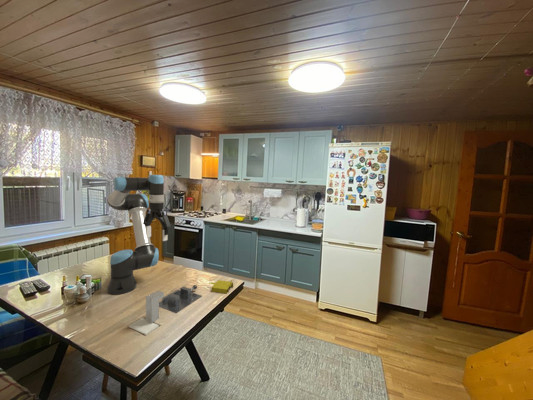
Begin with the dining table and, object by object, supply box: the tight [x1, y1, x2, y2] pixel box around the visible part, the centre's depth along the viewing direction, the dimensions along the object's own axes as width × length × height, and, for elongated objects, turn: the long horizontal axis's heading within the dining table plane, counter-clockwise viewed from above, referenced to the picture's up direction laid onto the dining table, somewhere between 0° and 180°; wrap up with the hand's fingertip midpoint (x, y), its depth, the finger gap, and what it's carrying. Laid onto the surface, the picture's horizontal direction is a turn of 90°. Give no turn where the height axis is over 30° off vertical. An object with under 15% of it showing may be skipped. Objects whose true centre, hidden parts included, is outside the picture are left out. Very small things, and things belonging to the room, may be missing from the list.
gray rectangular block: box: [145, 290, 165, 324], centre depth 111 cm, size 4×7×12 cm, turn 155°
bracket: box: [208, 279, 234, 294], centre depth 144 cm, size 16×8×15 cm
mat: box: [128, 317, 162, 336], centre depth 110 cm, size 12×16×1 cm
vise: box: [159, 284, 203, 314], centre depth 130 cm, size 16×23×6 cm
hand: (156, 238), depth 130 cm, fingers open, 13 cm apart
